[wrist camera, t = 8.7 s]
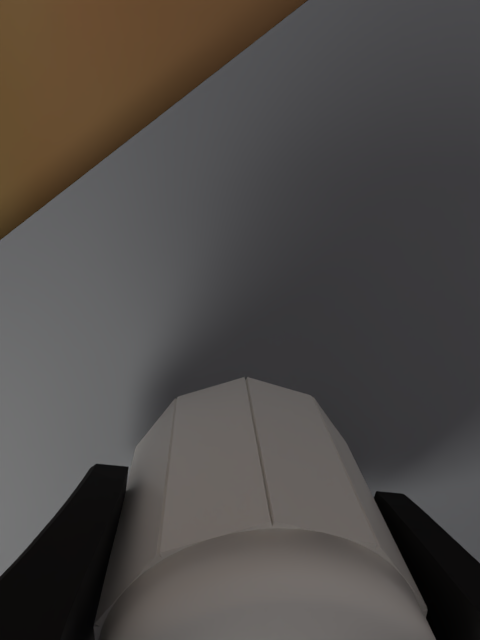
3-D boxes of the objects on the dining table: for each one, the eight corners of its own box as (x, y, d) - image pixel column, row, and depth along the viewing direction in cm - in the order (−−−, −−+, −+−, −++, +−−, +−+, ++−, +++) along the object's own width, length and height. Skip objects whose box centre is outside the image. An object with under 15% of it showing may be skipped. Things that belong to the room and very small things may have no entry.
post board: (115, 721, 15) (77, 967, 11) (-264, 454, 11) (-613, 679, 6) (668, 417, 13) (941, 572, 8) (470, -114, 8) (835, -482, 3)
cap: (219, 583, 12) (229, 876, 7) (88, 454, 10) (-15, 723, 5) (381, 491, 11) (515, 746, 6) (270, 336, 9) (337, 523, 5)
